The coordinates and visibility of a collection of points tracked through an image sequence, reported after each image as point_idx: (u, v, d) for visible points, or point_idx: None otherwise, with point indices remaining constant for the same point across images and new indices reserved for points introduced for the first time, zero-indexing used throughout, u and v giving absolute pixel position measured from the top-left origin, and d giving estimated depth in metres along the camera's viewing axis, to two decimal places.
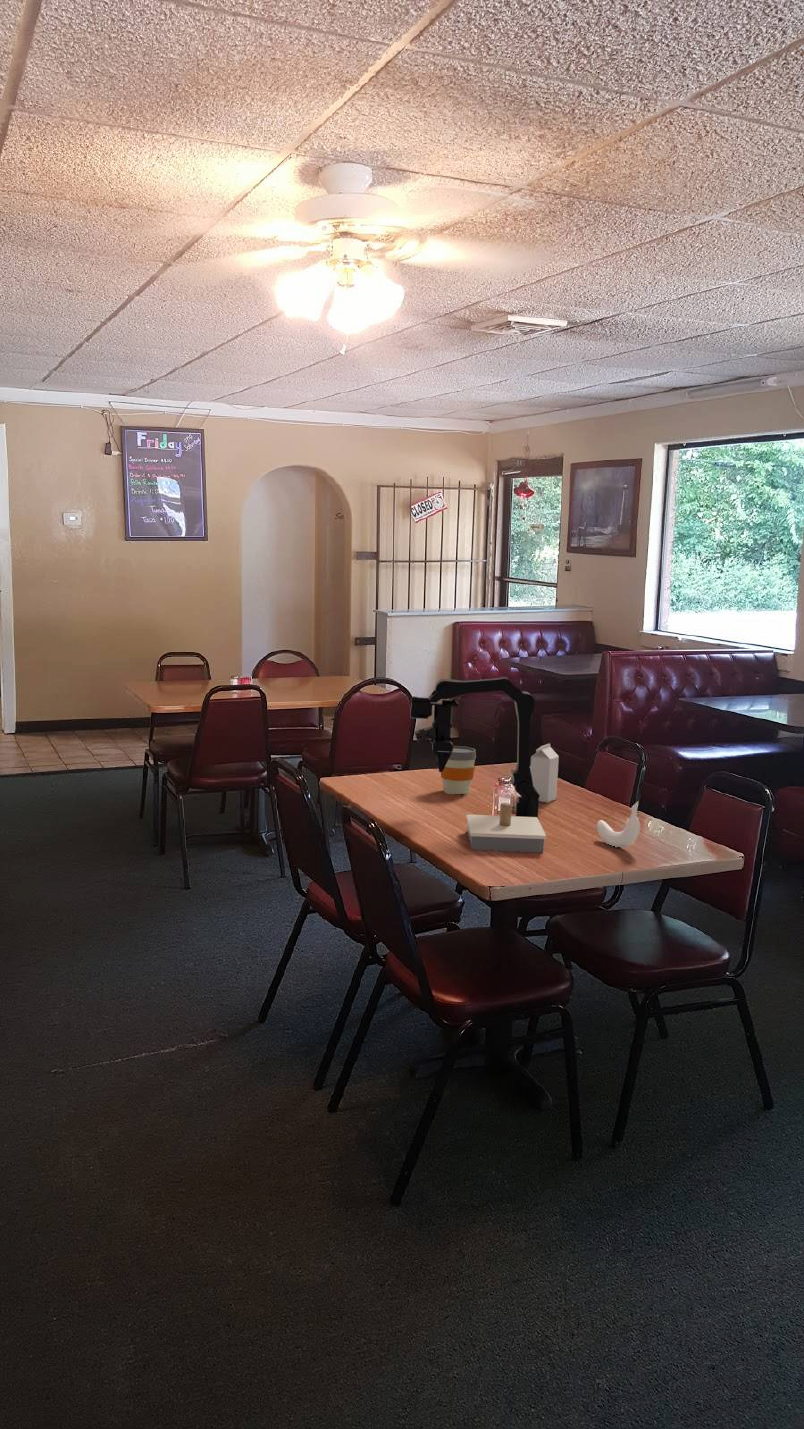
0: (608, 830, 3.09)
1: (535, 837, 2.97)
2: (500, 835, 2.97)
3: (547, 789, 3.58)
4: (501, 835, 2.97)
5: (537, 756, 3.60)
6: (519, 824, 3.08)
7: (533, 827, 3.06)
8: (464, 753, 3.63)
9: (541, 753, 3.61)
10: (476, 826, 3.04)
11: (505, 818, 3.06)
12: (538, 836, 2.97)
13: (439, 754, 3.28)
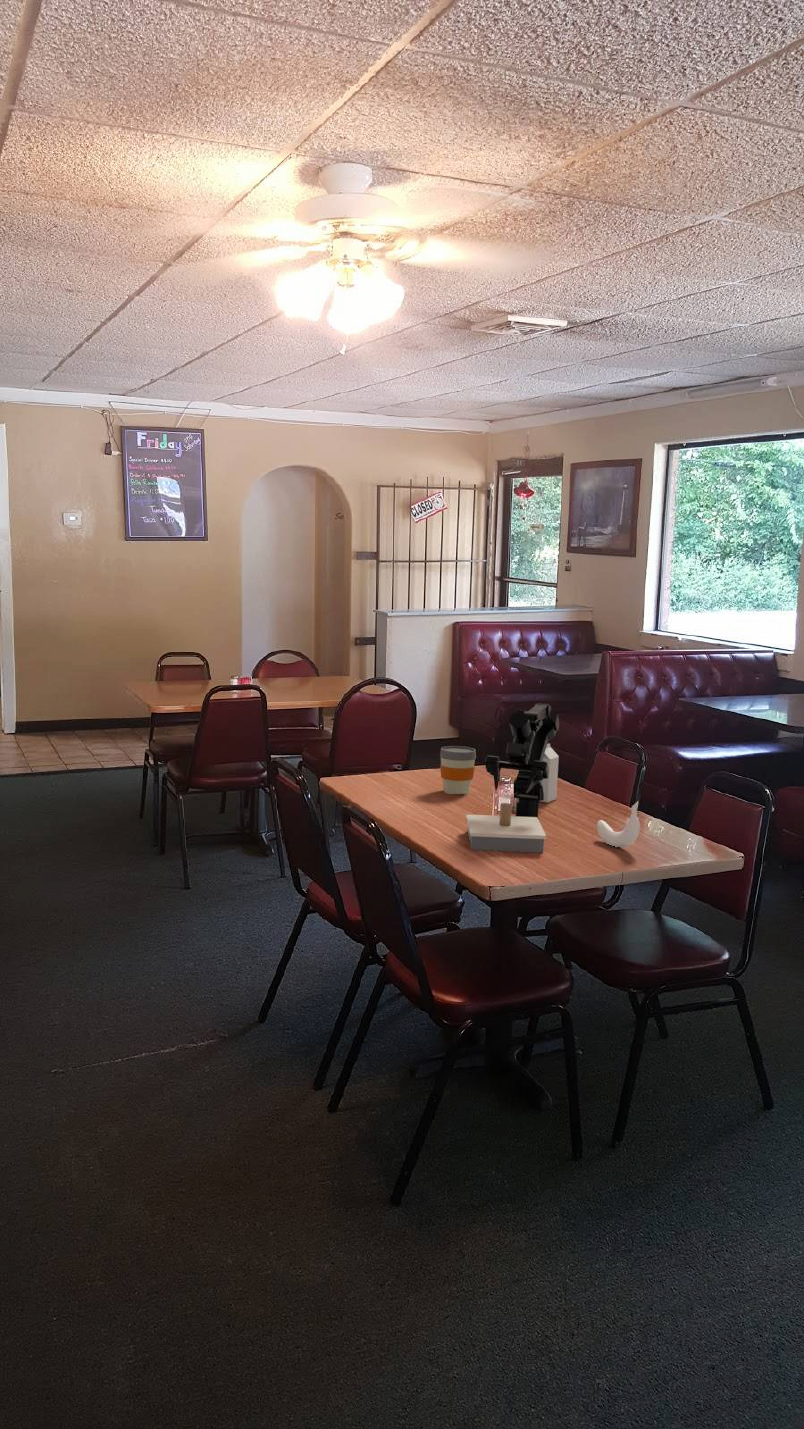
0: (608, 830, 3.09)
1: (535, 837, 2.97)
2: (500, 835, 2.97)
3: (547, 789, 3.58)
4: (501, 835, 2.97)
5: None
6: (519, 824, 3.08)
7: (533, 827, 3.06)
8: (464, 753, 3.63)
9: None
10: (476, 826, 3.04)
11: (505, 818, 3.06)
12: (538, 836, 2.97)
13: None
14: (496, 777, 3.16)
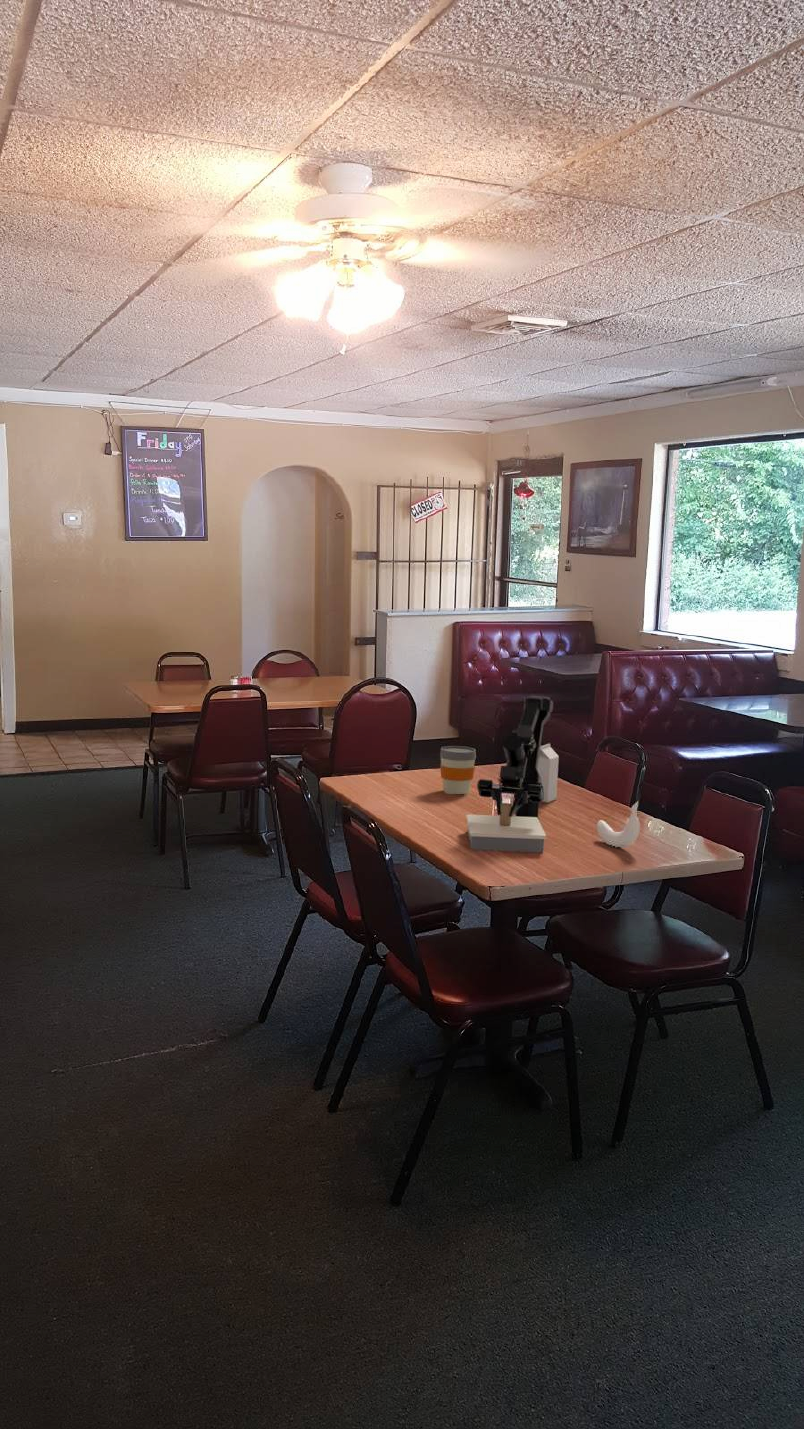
0: (608, 830, 3.09)
1: (535, 837, 2.97)
2: (500, 835, 2.97)
3: (547, 789, 3.58)
4: (501, 835, 2.97)
5: None
6: (519, 824, 3.08)
7: (533, 827, 3.06)
8: (464, 753, 3.63)
9: (541, 753, 3.61)
10: (476, 826, 3.04)
11: (505, 818, 3.06)
12: (538, 836, 2.97)
13: None
14: (499, 802, 3.07)
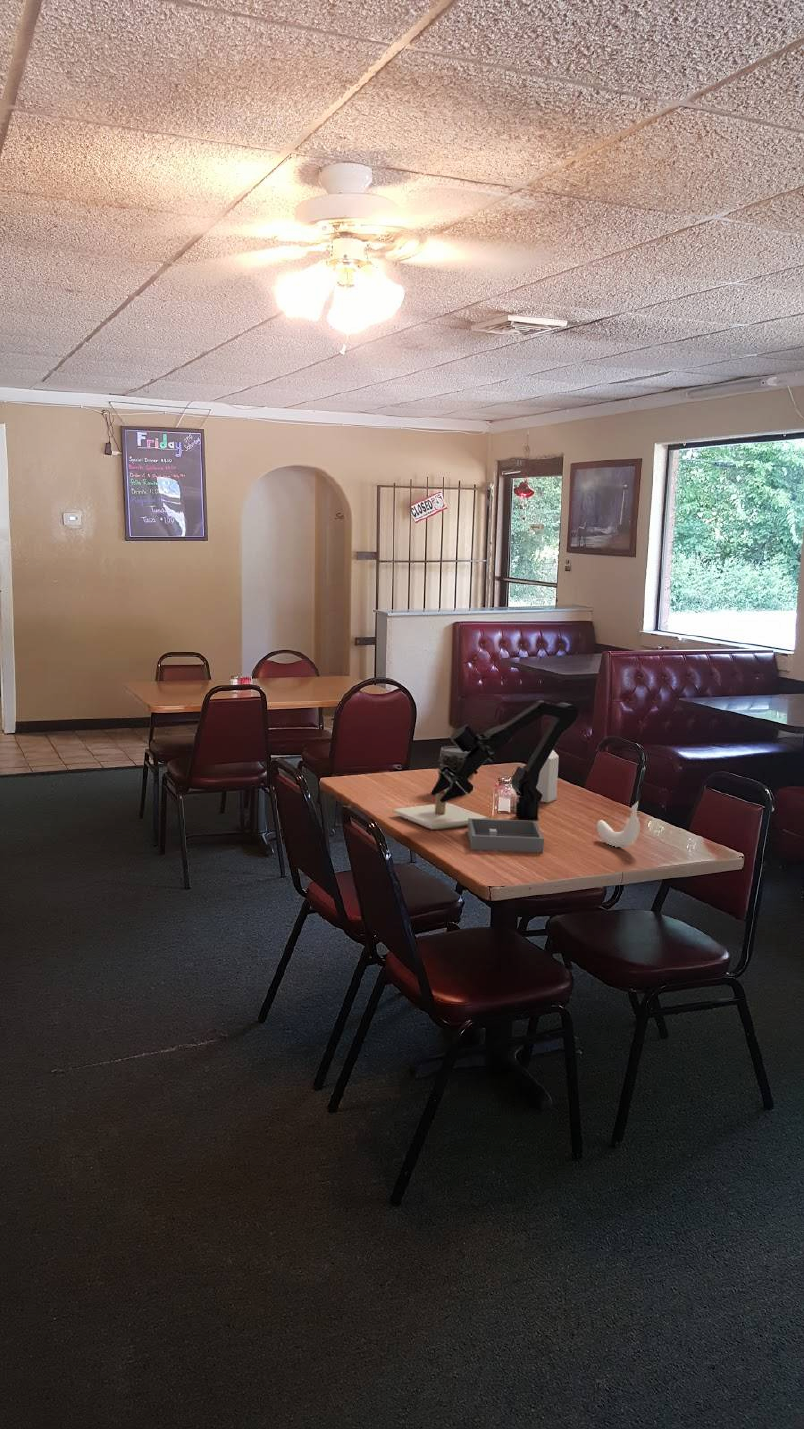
0: (608, 830, 3.09)
1: (426, 824, 3.18)
2: (407, 816, 3.26)
3: (547, 789, 3.58)
4: (408, 816, 3.25)
5: None
6: (450, 816, 3.27)
7: (450, 819, 3.22)
8: (464, 753, 3.63)
9: None
10: (415, 808, 3.35)
11: (435, 806, 3.29)
12: (427, 824, 3.17)
13: (454, 787, 3.23)
14: (436, 784, 3.33)
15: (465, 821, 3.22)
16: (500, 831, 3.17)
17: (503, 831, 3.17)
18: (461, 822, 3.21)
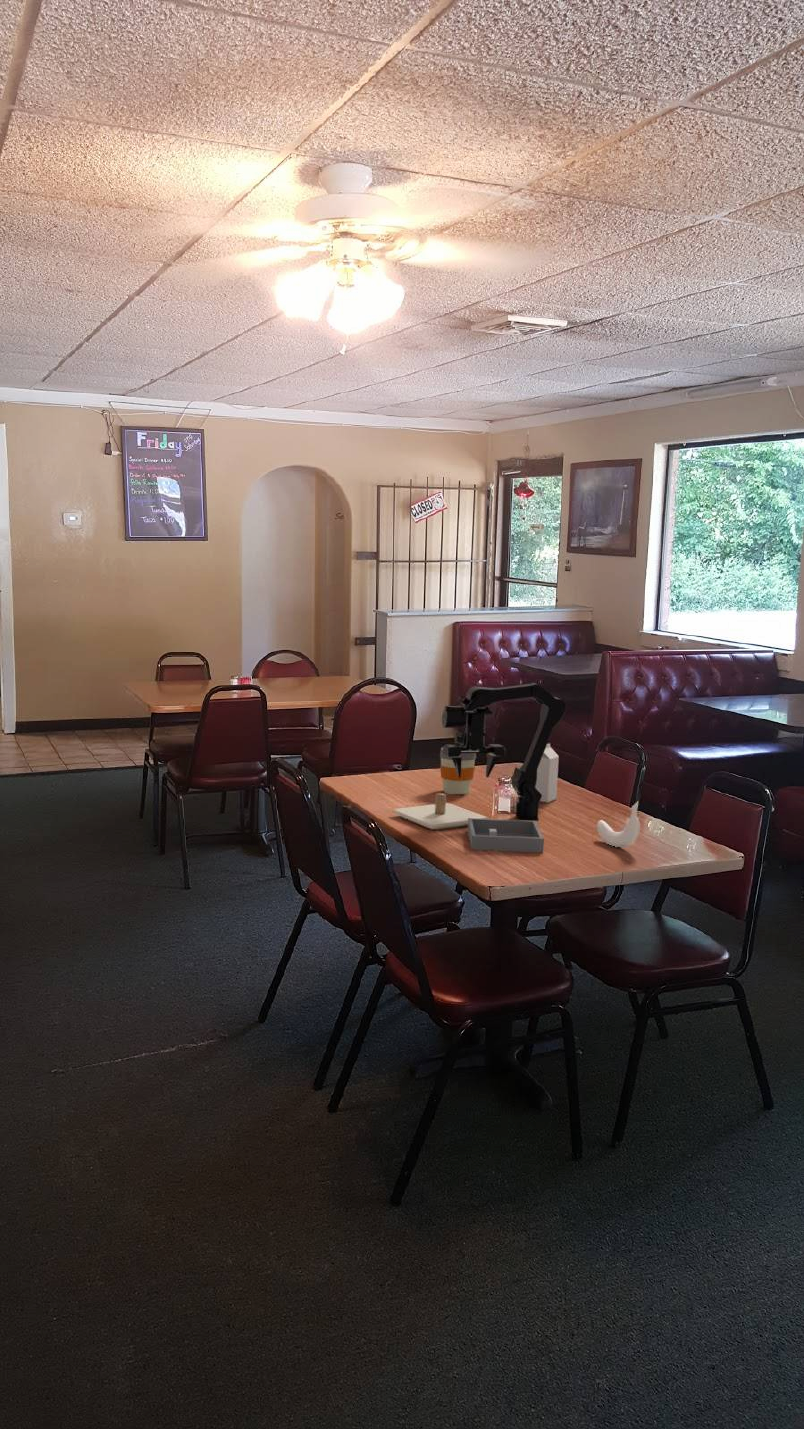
0: (608, 830, 3.09)
1: (426, 824, 3.18)
2: (407, 816, 3.26)
3: (547, 789, 3.58)
4: (408, 816, 3.25)
5: None
6: (450, 816, 3.27)
7: (450, 819, 3.22)
8: (464, 753, 3.63)
9: None
10: (415, 808, 3.35)
11: (435, 806, 3.29)
12: (427, 824, 3.17)
13: (454, 759, 3.30)
14: None
15: (465, 821, 3.22)
16: (500, 831, 3.17)
17: (503, 831, 3.17)
18: (461, 822, 3.21)
